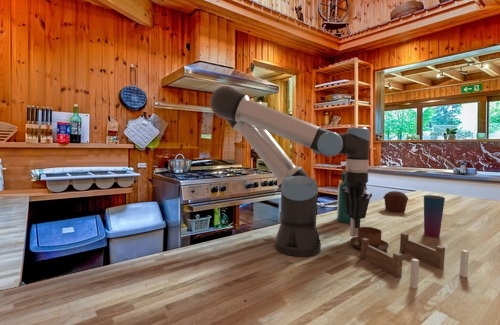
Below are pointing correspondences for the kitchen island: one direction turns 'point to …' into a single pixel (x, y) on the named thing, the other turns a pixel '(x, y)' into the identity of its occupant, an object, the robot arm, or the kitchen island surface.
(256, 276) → the kitchen island surface
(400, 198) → the muffin
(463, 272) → the posts
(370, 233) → the cup and saucer
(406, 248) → the brown wooden rail pair
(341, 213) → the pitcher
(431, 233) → the cup
